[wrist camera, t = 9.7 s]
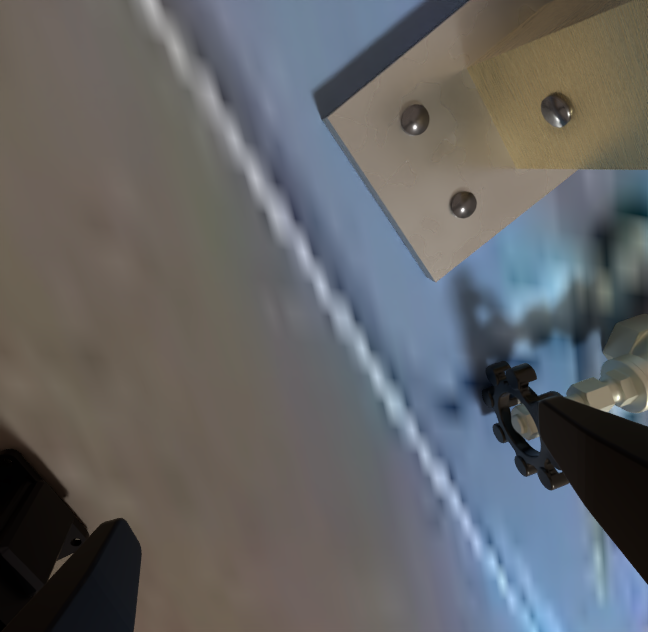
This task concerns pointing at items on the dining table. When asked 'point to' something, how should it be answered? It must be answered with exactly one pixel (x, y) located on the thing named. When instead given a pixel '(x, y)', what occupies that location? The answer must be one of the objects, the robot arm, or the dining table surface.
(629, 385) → the valve
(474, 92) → the fixed leaf
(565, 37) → the loose leaf
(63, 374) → the dining table surface
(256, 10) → the dining table surface
